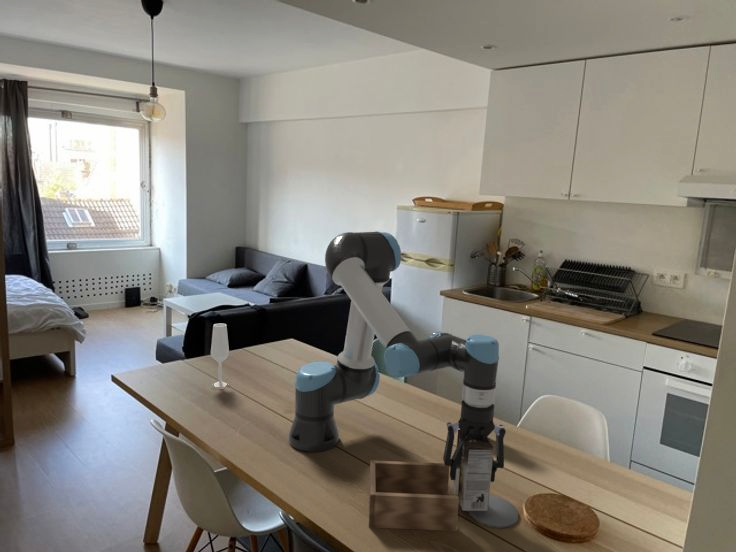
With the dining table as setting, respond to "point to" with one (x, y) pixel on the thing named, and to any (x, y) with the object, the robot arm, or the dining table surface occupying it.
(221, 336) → the champagne flute
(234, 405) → the dining table surface
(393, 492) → the walnut u-shaped stand
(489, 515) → the slate coaster
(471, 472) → the coffee box
